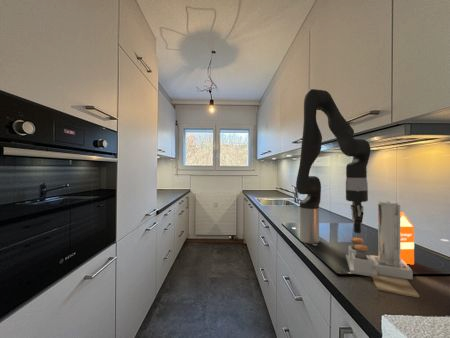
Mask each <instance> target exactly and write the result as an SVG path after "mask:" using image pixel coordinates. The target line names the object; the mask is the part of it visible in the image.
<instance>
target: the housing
mask: <svg viewBox="0 0 450 338" xmlns="http://www.w3.org/2000/svg"><path fill="white" fill-rule="evenodd" d="M345 259H346V263H347V266H348V269H349V273H350V272H351V273H350V274H354V275H358V276H359V275H360V276H367V277H371V275H381V276H388V277H394V278H401V279H407V280H413V281H414V278H413V277H414V276H413V270H412V268H411V267H410V266H409V265H407V264H406V263H405V262H404V261H403V260H402V259H401V268H398V267H390V266H383V265H379V258H378V255H373V254H370V255H367V254H366V260H365V259H358V258H356V250H353V247H352V245H348V254H345Z"/></svg>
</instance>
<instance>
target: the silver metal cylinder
mask: <svg viewBox="0 0 450 338" xmlns="http://www.w3.org/2000/svg"><path fill="white" fill-rule="evenodd" d="M400 212H401V205H400V204H399V202H398V201H397V202H396V201H390V200H389V201H388V200H380V201H379V202H378V204H377V217H378V218H377V221H378V222H377V223H378V224H377V227H378V228H377V229H378V232H377V233H378V235H377V237H378V238H377V239H378V244H377V245H378V248H377V249H378V253H377V254H378V255H377V256H378V258H379V265H383V266H390V267H398V268H401V237H400Z"/></svg>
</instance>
